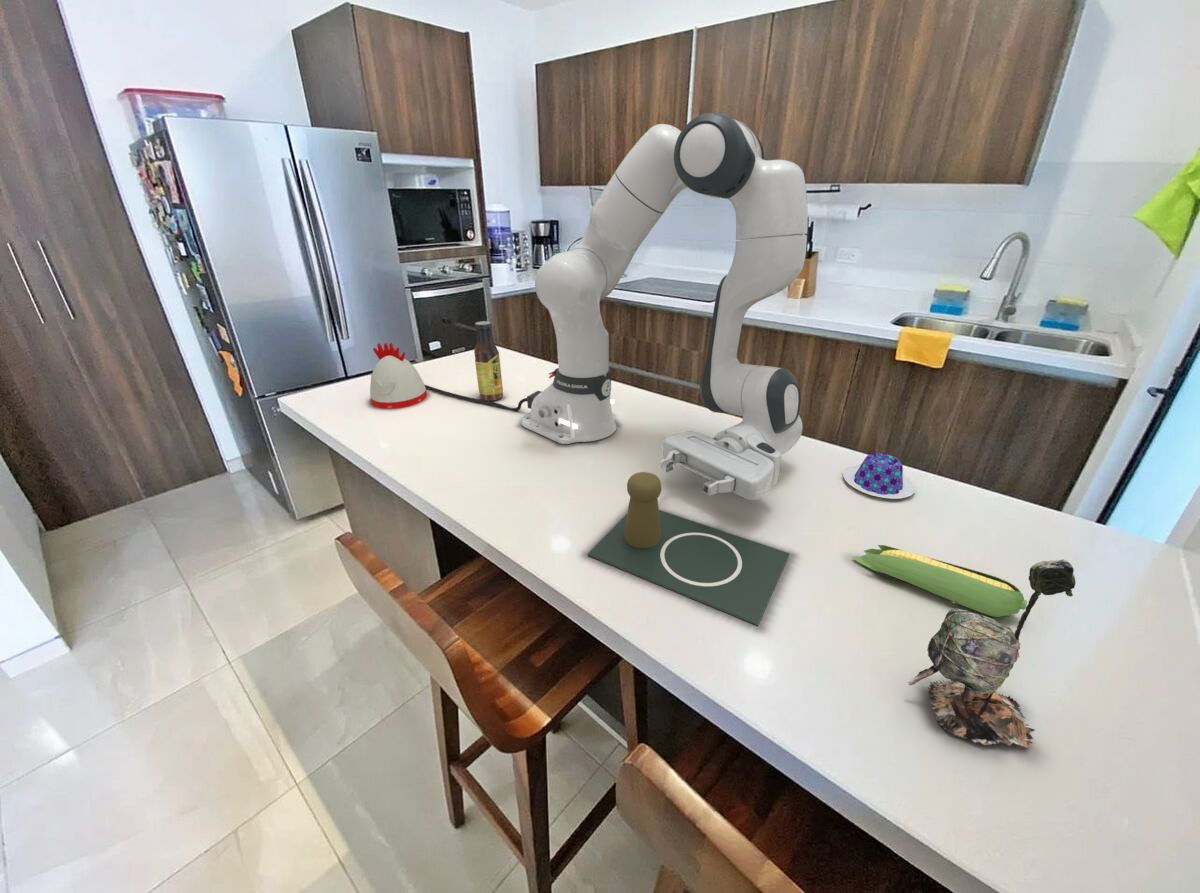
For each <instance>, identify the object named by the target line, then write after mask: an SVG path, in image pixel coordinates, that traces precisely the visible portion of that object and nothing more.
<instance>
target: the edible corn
mask: <svg viewBox="0 0 1200 893" xmlns="http://www.w3.org/2000/svg"><path fill="white" fill-rule="evenodd" d="M877 546H878V549H877V548H868V549H865V550H863V552H864V554H862V555H860V556H851V558H852V559H853V560H854V561H856V562H857V563H859V564H861V565H863V566H864V567H867V568H868V569H870V570H873V571H875V572H876V573H881V574H882V575H885V576H889V577H890V578H894V579H896V580H899V581H901V582H905V583H907V584H910V585H912V586H913V587H916V588H918V589H921V590H923V591H926V592H928V593H930V594H933V595H935V596H938V597H940V598H942V599H944V600H947V601H949V602H952V601H956V602H955V603H954V604H956V605H958V606H961V607H964V608H967V609H969V610H972V611H974V612H977V613H979V614H981V615H984V616H987V617H988V616H989V617H990V618H991V617H992V618H1005V617H1010V616H1012V615H1013V616H1014V615H1016V614H1018V613H1019V612H1020V611H1021V610H1022V611H1025V610H1026V607H1027V605H1028V600H1027V599H1025V598H1024V594H1023V593H1022V592H1021V590H1020V589H1019V588H1018V587H1017V586H1016V585H1015V584H1012V583H1011V582H1009V581H1007V580H1005V579H1002V578H1000V577H998V576H994V575H991V574H987V573H984V572H982V571H978V570H975V569H971V568H967V567H964V566H960V565H956V564H953V563H949V562H947V561H942V560H939V559H935V558H931V557H929V556H924V555H921V554H917V553H914V552H911V551H906V550H902V549H899V548H896V547H892V546H889V545H885V544H877Z"/></svg>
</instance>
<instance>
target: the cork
mask: <svg viewBox="0 0 1200 893" xmlns="http://www.w3.org/2000/svg"><path fill="white" fill-rule="evenodd" d="M662 487H663V486H662V481H661V480H660V477H658V476H657V475H656V474H654V473H652V472H647V471H640V472H636V473H634V474H632V475H631V476H630V477H629V478H628V480H627V483H626V491H627V494H628V496H629V502H628V508H627V513H626V514H627V518H626V524H625V530H624V539H625V541H626V542H627V543H628V544H629V545H631V546H633V547H637V548H650V547H653V546H656V545H657V544H658V543H659V542H660V541H661V538H662V537H661V528H660V518H659V510H660V509H659V500H658V499H659V497H660V495H661V493H662V489H663V488H662Z"/></svg>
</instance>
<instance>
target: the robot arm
mask: <svg viewBox="0 0 1200 893" xmlns="http://www.w3.org/2000/svg"><path fill="white" fill-rule="evenodd" d="M687 188H688V189H689V190H691V191H692V192H695V193H696V194H697V193H698V194H701V195H703V196H706V197H709V198H715V199H720V198H721V199H727V200H728V201H729V202H730V203H731V205H732V206H733V209H734V213H735V247H734V255H733V259H732V262H731V265H730V268H729V270H728V272H727V274H726V275H724V276H723V277H722V279H721V280H720V282H719V285H718V287H717V291H716V294H715V300H714V306H713V313H712V318H711V325H710V326H711V327H710V334H709V341H708V348H707V354H706V361H705V364H704V369H703V371H702V375H701V378H700V383H699V394H700V397H701V400H702V402H703V403H704V405H705V406H706V408H707V409H708V410H709V411H710V412H713V413H716V414H717V413H718V414H727V415H735V416H740V417H742V420H741V421H740V422H739V423H736V424H735V425H733V426H731V427H728V428H725V429H723V430H721V431H719V432H718V433H716V435H715V436H714V437H710V436H708V435H705V434H703V433H700V432H698V431H695V430H686V431H682V432H681V431H680V432H678V433H674V434H671V435H668V436H666V437H664V439H663V441H662V456H663V457H664V458H663V459H661V460H660V462H659V469H660V470H662V471H664V472H666V473H669V472H671V471H673V470H674V465H679V466H680V467H682V468H685V469H686V470H689V471H690V472H693V473H694V474H696V475H699V476H700V477H702V478H705V479H706V480H708V481H705V482H704V483H703V486H702V487H703V488H702V492H703V493H705V494H707V495H708V496H711V497H712V496H713V495H715V494H722V493H723V494H724V493H727V494H728V493H734V494H736V495H737V496H739V497H741V498H743V499H745V500H747V501H748V500H749V501H756V500H758V499H760V498H762V497H764V496H765V495H766V494H768V493H769V492H770V490H771V489H772V488H774V487H775V486H776V485H777V482H778V479H779V475H780V470H781V464H782V463H781V462H782V456H783V455H785V454H786V453H788V452H789V451H790V450H791V449H792V448H793V447H794V446H795V445H796V444H797V443H798V442H799V440H800V438H801V437H802V434H803V430H804V429H803V425H804V424H803V421H802V418H801V416H800V415H799V414H800V410H801V403H802V402H801V401H802V396H801V389H800V385H799V384H798V381H797V379H796V377H795V376H794V374H793V373H792V372H791V371H790V369H789V370H788V369H787V368H785V367H776V366H769V365H757V364H750V363H749V364H748V363H741V362H740V361H739V359H738V350H739V344H740V339H741V332H742V326H743V322H744V318H745V315H746V313H748V311H749V310H750V308H751V307H753V306H754V305H756V304H757V303H759V302H760V301H763V300H765V299H767V298H770V297H772V296H775V295H776V294H778V293H780V292H782V291H784V290H785V289H786V288H788V287H789V286H790V285H791V284H792V283H794V281H795V280H796V279H797V278H798V277H799V275H800V273H801V272H802V270H803V267H804V264H805V260H806V255H807V243H808V226H809V225H808V223H809V222H808V221H809V220H808V219H809V216H808V214H809V213H808V212H809V211H808V195H807V186H806V179H805V174H804V171H803V169H802V168H801V167H800V166H799V165H798V164H796V162H793V161H790V160H786V159H770V160H769V159H765V151H764V147H763V144H762V142H761V140H760V139H759V137H758V136H757V134H755V133H754V132H753V131H752V129H751V128H750V127H749V126H748V125H746V123H744V122H742V121H740V120H737V119H734V118H733V117H731V116H729V115H727V114H725V113H721V112H707V113H703V114H700V115H698V116H696V117H694V118H693V119H691V120H689V122H688V123H687V124H685V125H684V127H683V128H682V130H680V129H679V128H677V127H675V126H674V125H671V124H667V123H658V124H654V125H653V126H651V127H650V128H649V129H648V130H647V131H646V132H645V133H644V134H643V135H642V136H641V137H640V138H639V139H638V140H637V142H636V143H635V144H634V145H633V146H632V148H630V150H629V152H628V153H627V154H626V156H625V157H624V158H623V159H622V161H621V163H619V165H618V167H617V168H616V170H615V172H613V174H612V176H611V178H610V179H609V180H608V182H607V184H606V186H605V187H604V188H603V190H602V192H601V193H600V195H599V196H598V198H597V199H596V201H595V203H594V204H593V206H592V208H591V209H590V214H589V221H588V224H587V226H586V229H585V231H584V233H583V235H582V237H581V239H580V241H579V242H578V243H577V244H576V245H575V246H574V247H573V248H572V249H569V250H566V251H561V252H558V253H556V254H554V255H552V256H551V257H550V258H548V259H546V261H545V262H544V263H543V264H542V265H541V266H540V267H539V268H538V270H537V272H536V275H535V278H534V289H535V294H536V295H537V298H538V300H539V301H540V303H541V304H542V305H543V306H544V307H545V308H546V309H547V311H548V313H549V315H550V319H551V321H552V325H553V329H554V334H555V337H556V348H557V350H556V351H557V361H558V362H557V366H558V367H556V368H555V369H554V370H553V371H551V372H549V373H548V375H549V376H548V378H549V379H552V378H553V377H554V378H553V381H552V383H551V384H550V385H549V386H547V387H546V388H544V389H543V390H542V391H541V390H536V391H534V392H532V393H531V394H529V395H528V396H526V397H524V398H522V399H520V400H519V402H518V405H517V406H516V407H509V406H507V405H504V404H501V403H499V402H494V401H485V400H482V399H480V398H474V397H470V396H465V395H461V394H457V393H452V392H449V391H445V390H442V389H439V388H436V387H434V386H430V385H427V384H424V385H425V388H426V390H431V391H433V392H436V393H440V394H443V395H447V396H450V397H452V398H453V397H454V398H457V399H461V400H466V401H470V402H474V403H479V404H484V405H490V406H493V407H498V408H501V409H504V410H507V411H511V412H518V411H520V410H521V408H522V405H523V403H525V402H527V403H526V404H527V409H530V412H529V413H527V414H526V415H525V416H524V417H523V418H522V420H521V427H523V428H525V429H528V430H529V431H531V432H534V433H536V434H539V435H540V436H543V437H545V438H546V439H550V440H552V441H554V442H555V443H558V444H561V445H569V444H574V443H581V442H583V443H584V442H585V443H586V442H595V441H599V440H603V439H606V438H608V437H610V436H612V435H613V434H614V433H615V432H616V430H617V424H616V421H615V418H614V412H613V408H612V405H613V404H615V399H611V393H612V392H611V391H612V370H611V367H610V335H609V331H608V330H607V328H605V326H604V323H603V319H602V313H601V311H600V310H601V308H600V307H601V306H600V301H601V300H602V299H605V298H606V297H608V296H609V295H610V294H611V293H612V292H613V291H614V290H615V288H616V287H617V286H618V284H619V282H620V281H621V279H622V277H623V275H624V273H625V272H626V270H627V269H628V267H629V265H630V263H631V261H632V260H633V258H634V256H635V254H636V252H637V251H638V250H639V248H640V246H641V244H643V242H644V241H645V239H646V238H647V237H648V235H649V234H650V232H651V231H652V230H653V228H654V227H655V226H656V225H657V223H658V222H659V221H660V219H661V217H662V216H663V215H664V214H665V212H666V211H667V209H668V208H669V206H671V204H672V202H673V201H674V200H675V199H676V197H677V196H678V195H679V194H680V193H682V192H683V191H684V190H685V189H687Z"/></svg>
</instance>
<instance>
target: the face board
mask: <svg viewBox="0 0 1200 893" xmlns="http://www.w3.org/2000/svg"><path fill="white" fill-rule="evenodd" d="M626 518H627V513H626V514H625V515H624V516H623V517H622V518H621V519H620V520H619V521H618V522H617V523H616V524H615V525H613V527H612V528H611V529H610V530H609V531H608V532H607V533H606V534H605V535H604V536H603V537H602V538H601V540H599V541H598V542H597V544H596V545H595V546H594V547H593V548H592V549H590V551H589V552H588V553H587V556H588V557H590V558H593V559H595V560H597V561H600V562H603V563H604V564H607V565H609V566H612V567H614V568H617V569H619V570H621V571H623V572H627V573H628V574H631V575H634V576H636V577H638V578H641V579H643V580H645V581H648V582H651V583H653V584H656V585H658V586H659V587H663V588H665V589H668V590H670V591H673V592H674V593H677V594H679V595H682V596H685V597H687V598H689V599H692V600H694V601H697V602H699V603H701V604H704V605H705V606H706V605H707V606H708V607H711V608H713V609H715V610H718V611H720V612H723V613H726V614H728V615H731V616H733V617H735V618H737V619H741V620H742V621H744V622H747V623H749V624H752V625H754V626H757V627H758V626H759V624H760V622H761V620H762V618H763V615H764V612H765V611H766V608H767V606H768V604H769V601H770V599H771V597H772V595H773V592H774V590H775V588H776V586H777V584H778V581H779V579H780V576H781V574H782V572H783V570H784V568H785V565H786V563H787V561H788V558H789V556H790V552H787V551H784V550H780V549H777V548H775V547H772V546H768V545H766V544H763V543H760V542H757V541H754V540H751V539H748V538H744V537H742V536H739V535H736V534H733V533H730V532H728V531H724V530H721V529H717V528H715V527H712V526H709V525H707V524H702V523H700V522H697V521H694V520H692V519H688V518H684V517H681V516H678V515H675V514H673V513H669V512H666V511H664V510H661V509H659V518H660V528H661V537H662V538H661V541H660V542H659V543H658V544H657V545H656V546H653V547H650V548H637V547H633V546H631V545H629V544H628V543H627V542H626V541H625V539H624V530H625V524H626Z"/></svg>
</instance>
